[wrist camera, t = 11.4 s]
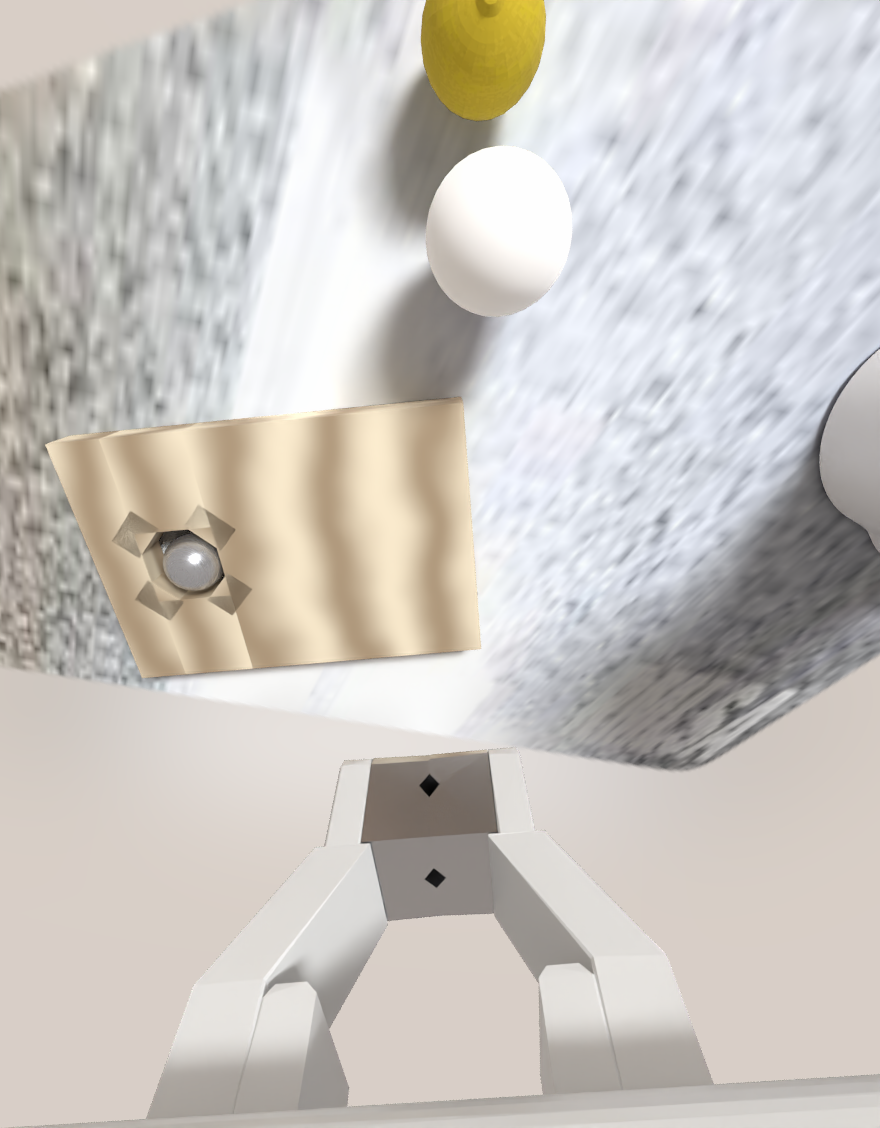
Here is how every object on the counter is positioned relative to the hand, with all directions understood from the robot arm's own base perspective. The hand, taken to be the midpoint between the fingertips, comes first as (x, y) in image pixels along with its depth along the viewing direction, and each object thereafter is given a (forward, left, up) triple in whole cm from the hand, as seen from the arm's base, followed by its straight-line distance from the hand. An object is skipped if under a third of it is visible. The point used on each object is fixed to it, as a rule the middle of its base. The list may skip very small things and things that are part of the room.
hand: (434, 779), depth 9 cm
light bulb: (-4, -10, -29) cm, 31 cm away
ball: (+17, +7, -27) cm, 33 cm away
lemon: (-4, -18, -29) cm, 35 cm away
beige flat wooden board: (+11, +7, -29) cm, 32 cm away
